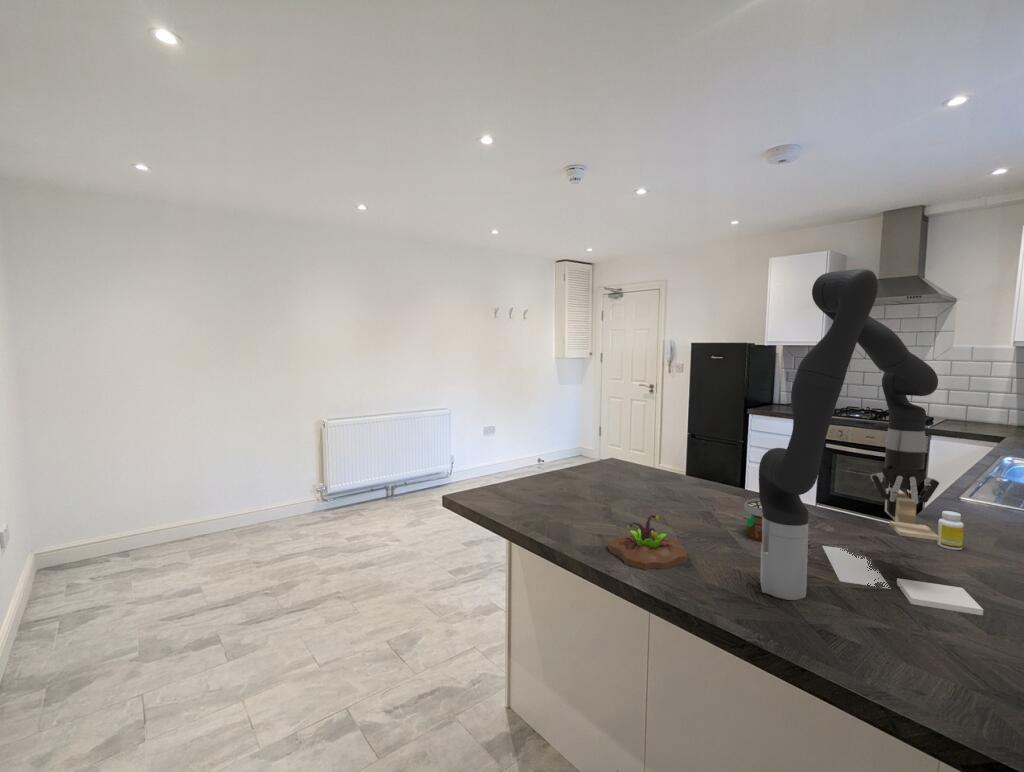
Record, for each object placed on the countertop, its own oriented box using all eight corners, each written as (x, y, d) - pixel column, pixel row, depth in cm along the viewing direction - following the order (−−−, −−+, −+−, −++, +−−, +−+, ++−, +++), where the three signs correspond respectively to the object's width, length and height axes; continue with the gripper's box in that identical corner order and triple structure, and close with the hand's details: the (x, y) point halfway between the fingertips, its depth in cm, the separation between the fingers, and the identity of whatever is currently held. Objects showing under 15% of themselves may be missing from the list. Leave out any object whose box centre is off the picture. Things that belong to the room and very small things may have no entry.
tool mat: (840, 582, 117) (840, 581, 117) (822, 547, 138) (822, 545, 138) (891, 590, 113) (891, 588, 113) (864, 552, 134) (864, 551, 134)
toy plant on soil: (701, 564, 128) (702, 523, 128) (637, 575, 123) (637, 532, 122) (658, 537, 148) (658, 501, 147) (600, 545, 142) (600, 508, 141)
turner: (875, 509, 128) (876, 487, 128) (908, 513, 125) (909, 490, 125) (899, 535, 110) (901, 509, 110) (938, 540, 107) (940, 513, 107)
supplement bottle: (967, 551, 134) (969, 516, 133) (945, 549, 135) (947, 515, 134) (953, 543, 139) (955, 510, 138) (932, 542, 140) (934, 509, 139)
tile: (896, 587, 115) (911, 607, 106) (897, 578, 115) (911, 598, 106) (961, 596, 110) (982, 619, 101) (962, 587, 110) (983, 609, 101)
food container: (748, 526, 154) (749, 495, 154) (770, 531, 150) (771, 499, 150) (738, 538, 145) (738, 505, 144) (760, 543, 141) (761, 509, 140)
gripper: (874, 448, 118) (870, 517, 119) (948, 453, 112) (943, 525, 114) (866, 442, 125) (863, 508, 126) (935, 447, 119) (931, 515, 120)
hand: (901, 516), depth 120 cm, fingers closed on turner, 3 cm apart
